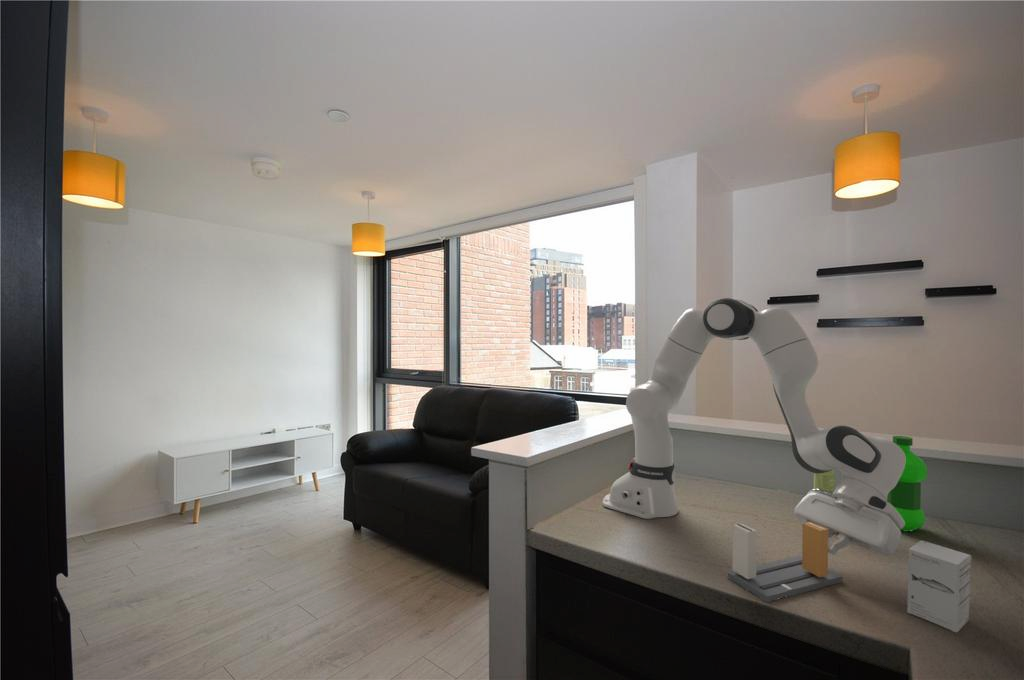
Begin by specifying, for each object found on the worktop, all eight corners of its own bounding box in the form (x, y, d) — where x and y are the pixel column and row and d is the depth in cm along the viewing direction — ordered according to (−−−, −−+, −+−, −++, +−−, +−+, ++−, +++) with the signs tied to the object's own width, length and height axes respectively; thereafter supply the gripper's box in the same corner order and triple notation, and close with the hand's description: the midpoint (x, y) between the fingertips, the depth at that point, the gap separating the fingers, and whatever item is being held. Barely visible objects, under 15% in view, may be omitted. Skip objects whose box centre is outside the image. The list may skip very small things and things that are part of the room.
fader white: (747, 579, 97) (748, 531, 97) (732, 570, 100) (732, 524, 100) (756, 577, 98) (756, 529, 97) (741, 568, 101) (741, 522, 101)
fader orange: (819, 577, 97) (820, 530, 97) (802, 568, 101) (802, 522, 101) (827, 575, 98) (828, 528, 98) (809, 566, 102) (810, 521, 102)
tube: (812, 518, 133) (813, 451, 133) (833, 521, 130) (834, 453, 130) (813, 525, 128) (814, 455, 128) (835, 528, 126) (836, 458, 125)
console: (767, 602, 91) (767, 595, 91) (727, 577, 101) (727, 571, 101) (842, 581, 99) (842, 575, 99) (799, 560, 108) (799, 554, 108)
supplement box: (905, 613, 88) (906, 548, 88) (920, 601, 92) (921, 538, 92) (957, 634, 82) (958, 564, 81) (971, 620, 86) (972, 553, 85)
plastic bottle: (897, 535, 121) (898, 441, 121) (868, 519, 132) (869, 433, 132) (937, 536, 121) (938, 442, 120) (905, 520, 131) (906, 433, 131)
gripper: (806, 478, 113) (776, 523, 110) (900, 508, 94) (868, 563, 91) (819, 494, 115) (790, 539, 111) (914, 526, 95) (883, 581, 92)
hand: (826, 550), depth 101 cm, fingers closed
